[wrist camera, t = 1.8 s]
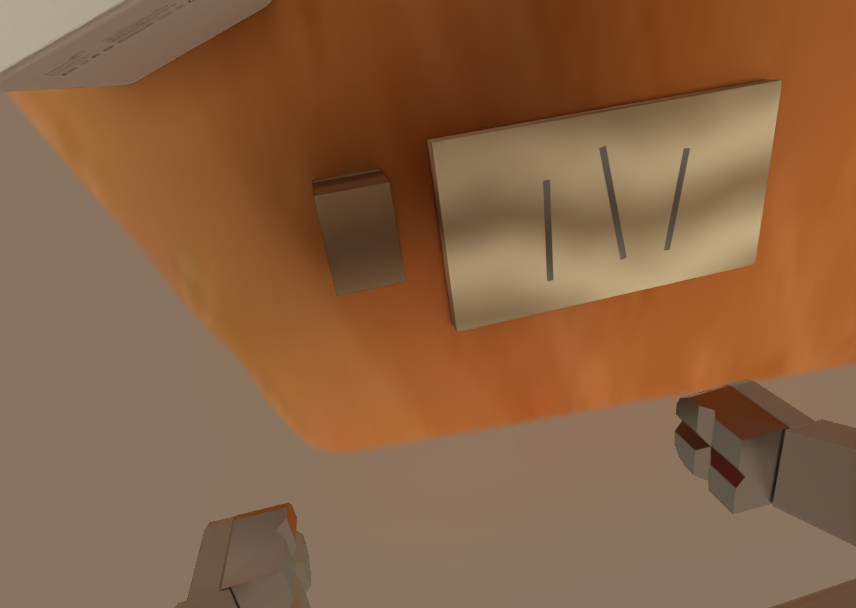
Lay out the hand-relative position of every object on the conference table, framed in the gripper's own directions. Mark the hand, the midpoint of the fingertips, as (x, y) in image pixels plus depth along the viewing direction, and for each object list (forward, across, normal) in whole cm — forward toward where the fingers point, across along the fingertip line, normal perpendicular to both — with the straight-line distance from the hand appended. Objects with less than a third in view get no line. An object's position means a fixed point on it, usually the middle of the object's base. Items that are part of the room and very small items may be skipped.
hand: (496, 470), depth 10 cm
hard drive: (+20, +7, -11) cm, 23 cm away
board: (+20, -13, +1) cm, 24 cm away
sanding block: (+20, +1, -1) cm, 20 cm away
